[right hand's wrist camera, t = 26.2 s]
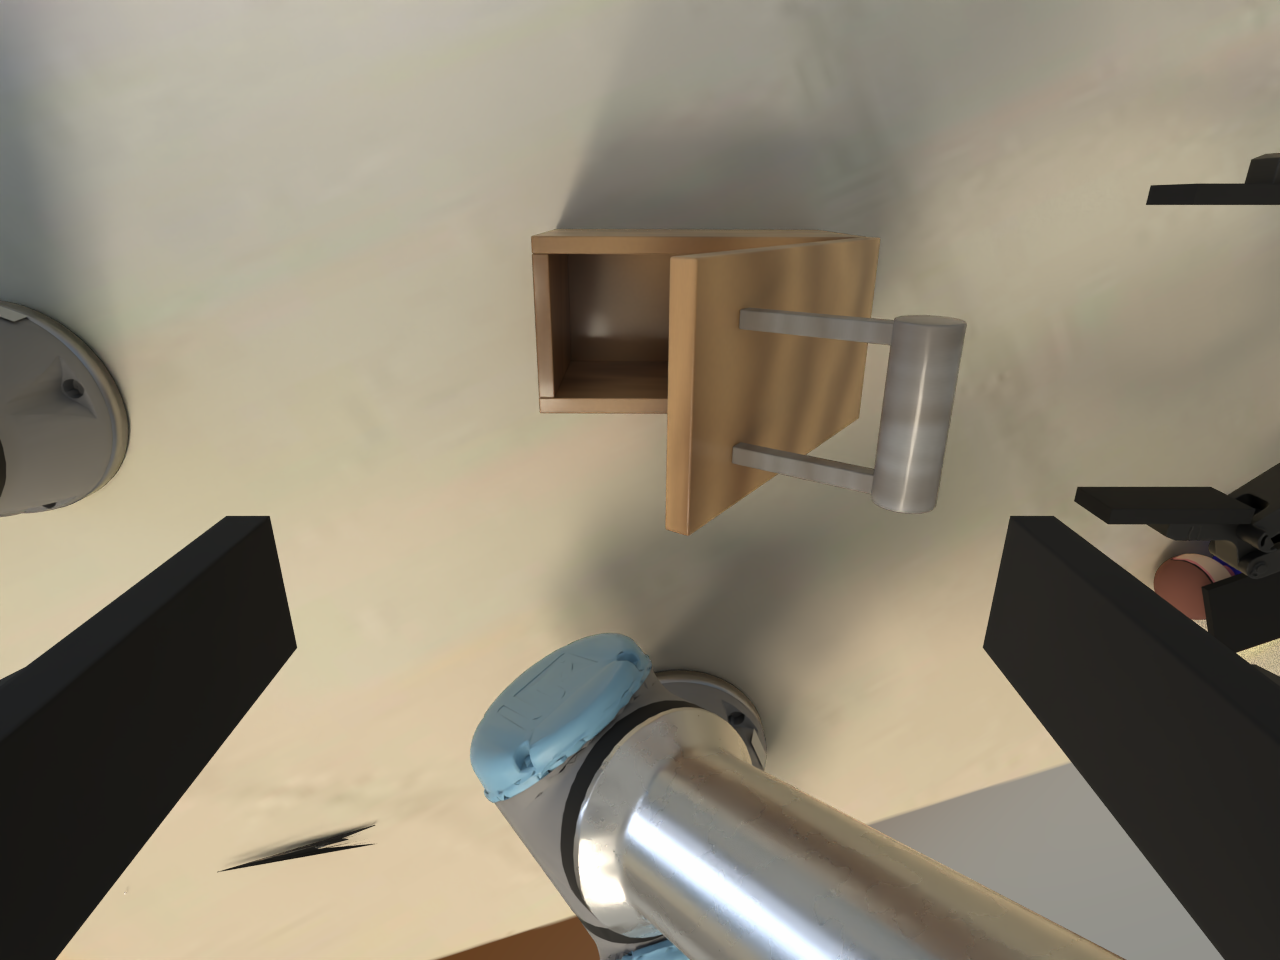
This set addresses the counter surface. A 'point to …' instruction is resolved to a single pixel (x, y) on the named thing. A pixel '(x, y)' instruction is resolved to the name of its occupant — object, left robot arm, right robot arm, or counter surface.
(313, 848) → the feather
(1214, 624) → the figurine character
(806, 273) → the lid
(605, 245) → the chest
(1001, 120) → the counter surface
